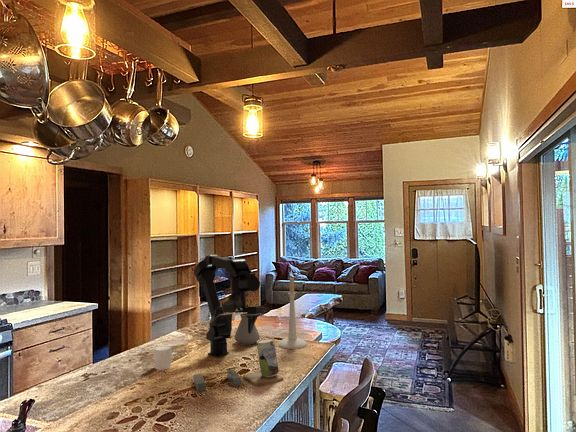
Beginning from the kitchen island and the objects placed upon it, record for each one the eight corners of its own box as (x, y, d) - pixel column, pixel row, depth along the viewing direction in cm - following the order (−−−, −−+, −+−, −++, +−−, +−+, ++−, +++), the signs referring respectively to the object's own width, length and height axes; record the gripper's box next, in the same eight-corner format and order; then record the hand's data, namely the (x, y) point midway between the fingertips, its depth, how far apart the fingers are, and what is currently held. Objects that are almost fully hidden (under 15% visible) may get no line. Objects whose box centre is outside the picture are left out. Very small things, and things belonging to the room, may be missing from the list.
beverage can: (276, 379, 132) (276, 343, 132) (255, 378, 133) (255, 342, 133) (280, 373, 138) (280, 338, 138) (259, 372, 139) (259, 337, 140)
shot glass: (176, 365, 150) (176, 346, 150) (163, 371, 143) (163, 351, 144) (162, 363, 152) (162, 344, 153) (149, 368, 146) (149, 349, 147)
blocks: (193, 382, 132) (193, 374, 132) (233, 376, 137) (233, 369, 137) (198, 392, 124) (198, 384, 124) (240, 385, 129) (240, 377, 129)
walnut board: (243, 377, 136) (243, 375, 136) (267, 371, 142) (267, 369, 142) (258, 386, 128) (257, 384, 128) (283, 379, 134) (283, 377, 134)
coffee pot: (255, 347, 173) (254, 312, 174) (230, 345, 176) (230, 311, 176) (268, 334, 194) (268, 304, 195) (246, 333, 196) (246, 303, 197)
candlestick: (301, 350, 168) (300, 278, 169) (273, 347, 172) (273, 278, 174) (310, 342, 180) (309, 275, 181) (284, 339, 184) (283, 275, 186)
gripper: (206, 293, 150) (206, 335, 148) (247, 292, 142) (249, 337, 140) (223, 291, 160) (224, 331, 158) (263, 290, 152) (264, 332, 150)
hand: (239, 333), depth 151 cm, fingers open, 9 cm apart
